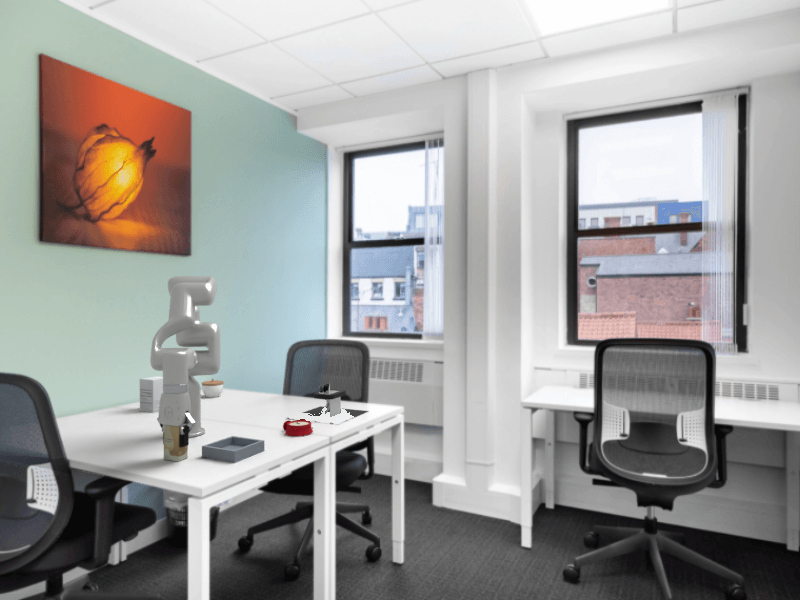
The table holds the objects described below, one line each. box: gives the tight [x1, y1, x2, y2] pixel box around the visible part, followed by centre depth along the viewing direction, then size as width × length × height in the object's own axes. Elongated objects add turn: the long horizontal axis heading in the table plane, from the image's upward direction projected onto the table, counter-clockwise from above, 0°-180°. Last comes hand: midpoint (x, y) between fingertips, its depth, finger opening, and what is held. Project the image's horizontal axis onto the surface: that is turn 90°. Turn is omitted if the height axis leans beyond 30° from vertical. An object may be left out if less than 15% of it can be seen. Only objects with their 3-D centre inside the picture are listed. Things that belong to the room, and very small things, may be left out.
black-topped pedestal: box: [302, 382, 370, 418], centre depth 232 cm, size 28×26×13 cm
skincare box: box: [163, 422, 189, 462], centre depth 169 cm, size 6×4×12 cm
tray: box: [201, 435, 265, 463], centre depth 175 cm, size 14×14×4 cm
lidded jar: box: [201, 378, 224, 399], centre depth 276 cm, size 11×11×9 cm
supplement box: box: [139, 375, 163, 413], centre depth 243 cm, size 9×9×15 cm
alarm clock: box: [282, 419, 314, 437], centre depth 203 cm, size 10×6×15 cm
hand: (175, 444), depth 169 cm, fingers closed on skincare box, 6 cm apart
